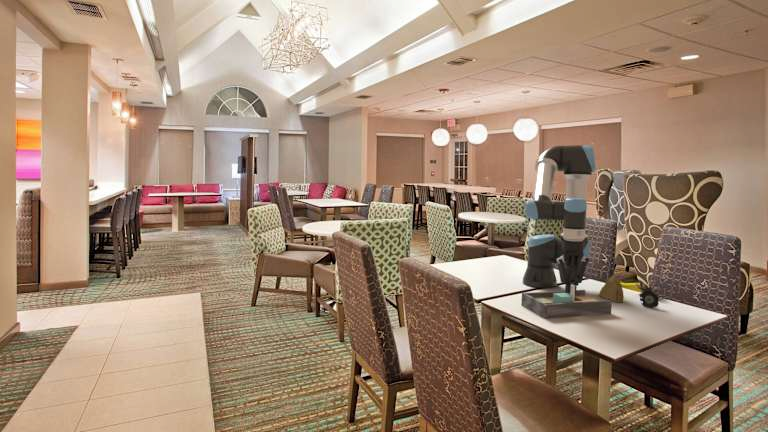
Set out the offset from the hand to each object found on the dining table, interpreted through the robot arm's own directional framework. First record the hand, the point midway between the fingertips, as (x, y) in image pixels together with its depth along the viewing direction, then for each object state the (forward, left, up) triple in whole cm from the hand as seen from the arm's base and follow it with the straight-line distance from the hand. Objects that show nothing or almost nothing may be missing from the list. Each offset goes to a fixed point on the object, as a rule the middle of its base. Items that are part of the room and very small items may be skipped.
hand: (570, 301), depth 169 cm
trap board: (-4, +1, -4) cm, 6 cm away
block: (0, -3, -1) cm, 3 cm away
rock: (-13, +28, -5) cm, 32 cm away
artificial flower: (-8, +42, -5) cm, 43 cm away
